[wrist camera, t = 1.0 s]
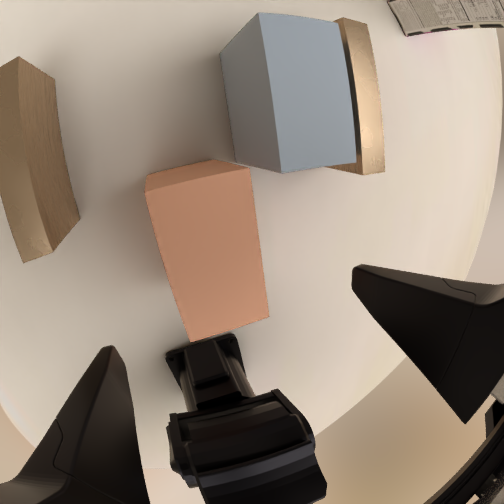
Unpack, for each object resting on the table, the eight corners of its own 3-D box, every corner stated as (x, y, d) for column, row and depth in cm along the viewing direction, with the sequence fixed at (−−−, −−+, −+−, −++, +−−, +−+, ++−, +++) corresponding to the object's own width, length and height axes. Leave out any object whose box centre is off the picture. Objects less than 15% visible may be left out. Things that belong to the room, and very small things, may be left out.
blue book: (293, 153, 19) (356, 162, 13) (235, 162, 18) (281, 173, 12) (279, 52, 16) (337, 23, 10) (219, 53, 14) (258, 12, 8)
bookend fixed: (357, 158, 21) (411, 168, 16) (309, 164, 20) (362, 175, 15) (344, 48, 17) (396, 34, 12) (293, 41, 15) (342, 17, 10)
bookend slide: (80, 219, 15) (52, 252, 10) (24, 239, 14) (-13, 277, 9) (54, 79, 11) (18, 56, 6) (-3, 108, 10) (-49, 102, 4)
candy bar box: (424, -3, 16) (526, -11, 2) (440, 28, 18) (543, 29, 4) (383, -1, 15) (515, -23, 1) (404, 38, 18) (540, 33, 4)
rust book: (232, 264, 21) (269, 316, 15) (175, 281, 20) (190, 342, 14) (213, 159, 17) (249, 167, 11) (147, 174, 16) (144, 191, 10)
